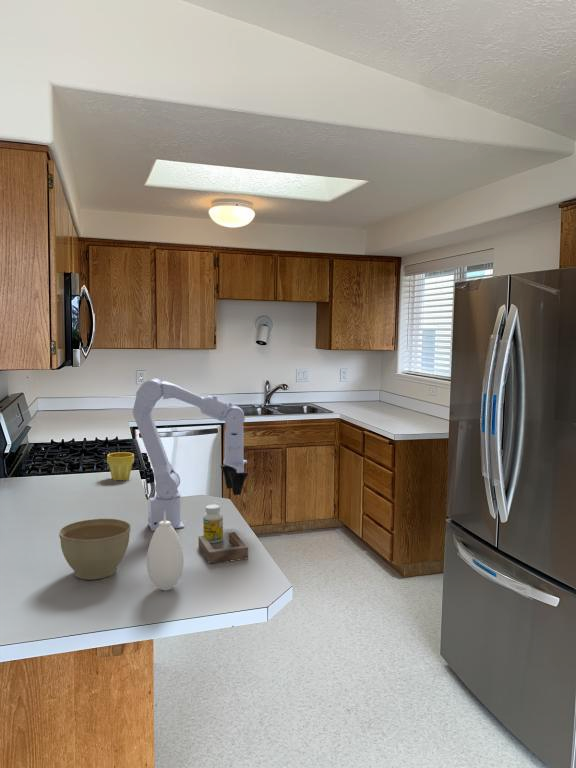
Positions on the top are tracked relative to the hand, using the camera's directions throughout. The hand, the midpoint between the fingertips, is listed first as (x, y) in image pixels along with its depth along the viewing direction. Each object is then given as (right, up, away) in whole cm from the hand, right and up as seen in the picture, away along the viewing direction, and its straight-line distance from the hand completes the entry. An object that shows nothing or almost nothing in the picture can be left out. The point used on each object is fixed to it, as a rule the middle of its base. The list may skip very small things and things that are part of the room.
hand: (233, 491), depth 175 cm
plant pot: (-50, -6, +56) cm, 75 cm away
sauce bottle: (-11, -14, -45) cm, 48 cm away
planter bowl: (-29, -13, -36) cm, 48 cm away
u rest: (-1, -12, -23) cm, 25 cm away
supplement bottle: (-4, -11, -13) cm, 18 cm away
